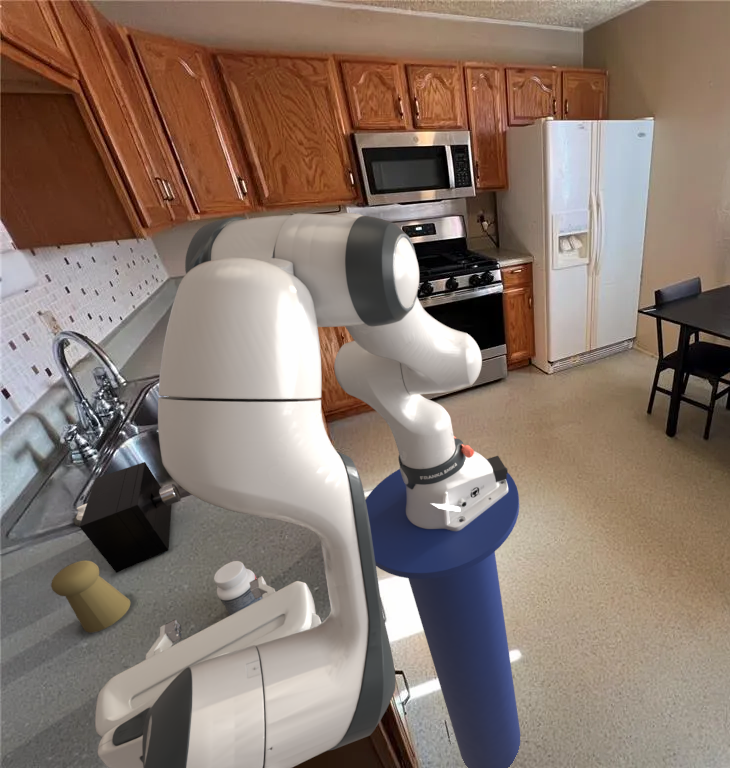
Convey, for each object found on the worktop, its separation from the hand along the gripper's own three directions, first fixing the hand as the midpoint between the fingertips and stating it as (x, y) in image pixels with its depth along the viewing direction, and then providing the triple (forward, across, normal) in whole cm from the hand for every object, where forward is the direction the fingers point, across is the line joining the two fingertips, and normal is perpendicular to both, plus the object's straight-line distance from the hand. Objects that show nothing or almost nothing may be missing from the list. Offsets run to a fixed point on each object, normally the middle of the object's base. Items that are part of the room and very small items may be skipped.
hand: (216, 602), depth 52 cm
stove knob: (+60, +26, +16) cm, 67 cm away
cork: (+26, +20, +15) cm, 36 cm away
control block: (+44, +16, +15) cm, 49 cm away
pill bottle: (+12, 0, +15) cm, 19 cm away
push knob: (+44, +11, +10) cm, 46 cm away
